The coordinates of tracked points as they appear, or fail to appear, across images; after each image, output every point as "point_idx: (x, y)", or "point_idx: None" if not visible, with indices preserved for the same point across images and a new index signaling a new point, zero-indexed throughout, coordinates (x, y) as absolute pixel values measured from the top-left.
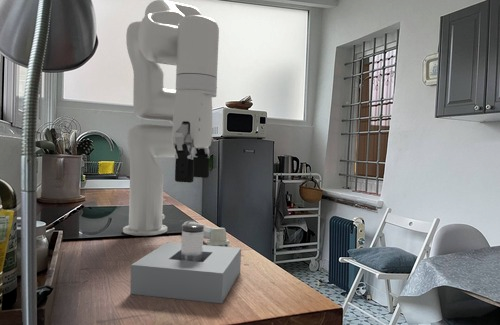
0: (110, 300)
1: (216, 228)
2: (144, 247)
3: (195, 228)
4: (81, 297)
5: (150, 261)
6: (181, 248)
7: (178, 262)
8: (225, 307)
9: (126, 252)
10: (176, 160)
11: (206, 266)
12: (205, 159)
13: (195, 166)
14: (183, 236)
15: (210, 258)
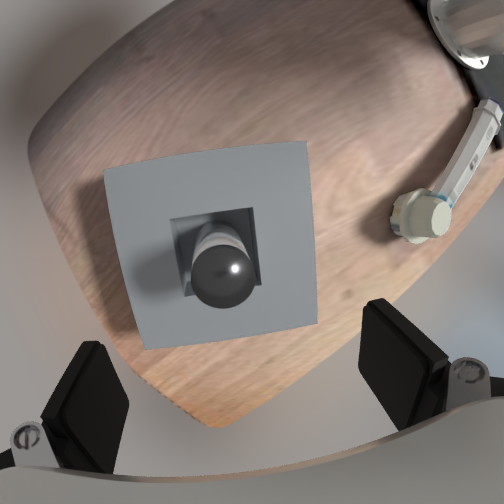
0: (89, 158)
1: (439, 216)
2: (379, 53)
3: (198, 298)
4: (84, 108)
5: (137, 192)
6: (203, 238)
7: (157, 252)
8: None
9: (334, 31)
10: (46, 413)
11: (162, 313)
12: (402, 421)
13: (391, 345)
14: (195, 255)
15: None
